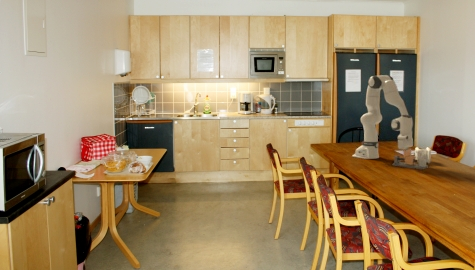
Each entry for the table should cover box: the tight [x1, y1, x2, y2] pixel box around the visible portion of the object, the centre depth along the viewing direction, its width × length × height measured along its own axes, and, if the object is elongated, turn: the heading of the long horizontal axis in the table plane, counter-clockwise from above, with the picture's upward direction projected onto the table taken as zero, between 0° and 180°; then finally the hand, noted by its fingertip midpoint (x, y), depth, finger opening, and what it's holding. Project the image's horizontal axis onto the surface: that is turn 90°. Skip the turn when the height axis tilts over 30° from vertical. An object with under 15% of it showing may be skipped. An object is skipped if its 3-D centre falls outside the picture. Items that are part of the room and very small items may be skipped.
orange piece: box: [402, 148, 416, 165], centre depth 347 cm, size 6×12×11 cm, turn 137°
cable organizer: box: [414, 146, 432, 165], centre depth 362 cm, size 15×11×12 cm
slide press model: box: [392, 155, 429, 170], centre depth 348 cm, size 24×10×7 cm, turn 47°
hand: (405, 153), depth 350 cm, fingers closed, pressing on orange piece
